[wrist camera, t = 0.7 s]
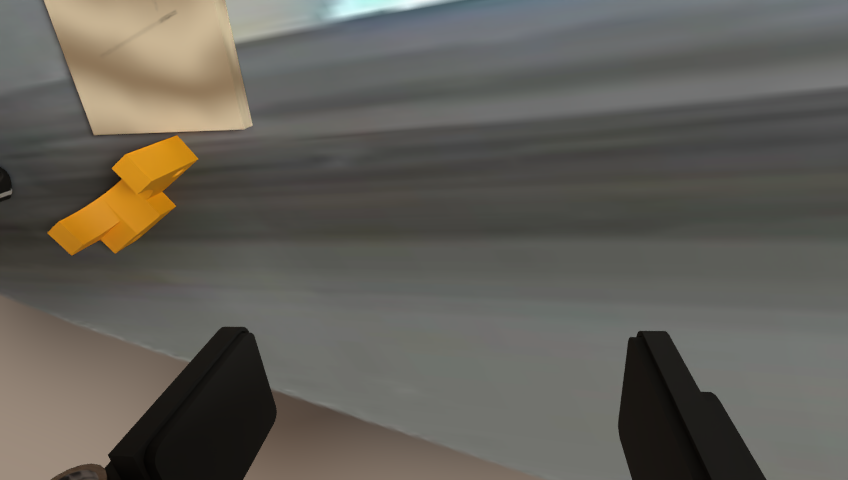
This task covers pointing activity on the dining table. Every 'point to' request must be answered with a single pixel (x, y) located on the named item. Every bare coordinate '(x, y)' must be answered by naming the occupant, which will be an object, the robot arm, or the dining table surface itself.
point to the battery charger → (5, 185)
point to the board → (152, 64)
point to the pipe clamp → (128, 199)
